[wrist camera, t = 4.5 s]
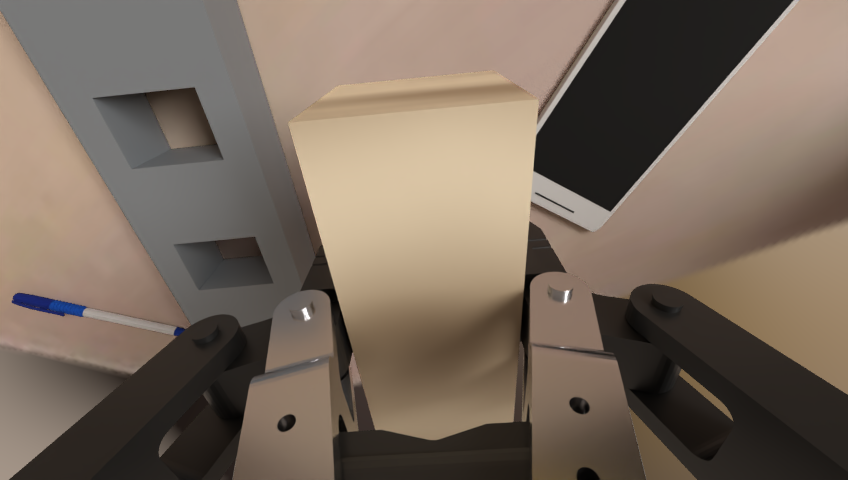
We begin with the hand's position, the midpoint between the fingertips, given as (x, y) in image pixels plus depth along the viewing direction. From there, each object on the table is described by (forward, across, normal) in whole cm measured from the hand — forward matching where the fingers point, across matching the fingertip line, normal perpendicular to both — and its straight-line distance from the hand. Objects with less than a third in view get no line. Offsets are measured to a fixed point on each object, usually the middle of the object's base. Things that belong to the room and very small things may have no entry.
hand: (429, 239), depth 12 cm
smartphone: (+9, -11, -3) cm, 15 cm away
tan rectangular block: (+3, 0, 0) cm, 3 cm away
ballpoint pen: (+8, +23, +9) cm, 26 cm away
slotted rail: (+8, +11, 0) cm, 14 cm away
